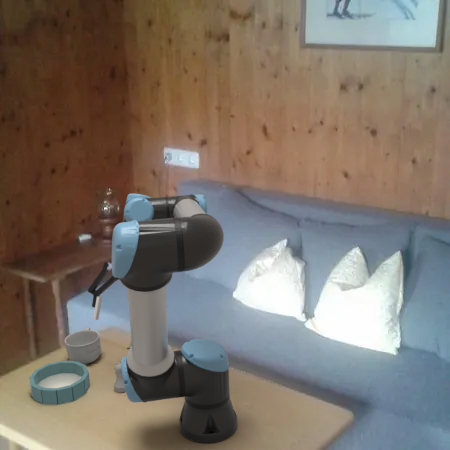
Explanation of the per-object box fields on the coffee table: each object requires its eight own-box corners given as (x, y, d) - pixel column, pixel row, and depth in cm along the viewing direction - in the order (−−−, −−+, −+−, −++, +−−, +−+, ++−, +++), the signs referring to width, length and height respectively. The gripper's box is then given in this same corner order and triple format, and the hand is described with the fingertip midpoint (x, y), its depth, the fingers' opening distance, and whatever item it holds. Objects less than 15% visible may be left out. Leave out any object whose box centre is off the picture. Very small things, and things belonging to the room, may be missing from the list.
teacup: (94, 369, 203) (91, 346, 201) (61, 366, 206) (58, 343, 203) (110, 347, 216) (108, 325, 214) (79, 345, 218) (76, 323, 216)
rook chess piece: (111, 391, 191) (108, 367, 189) (118, 383, 195) (116, 359, 193) (125, 394, 190) (122, 369, 187) (132, 386, 194) (130, 361, 191)
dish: (101, 384, 195) (99, 371, 194) (56, 411, 182) (55, 396, 181) (64, 368, 204) (62, 355, 203) (19, 392, 192) (18, 379, 191)
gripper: (177, 256, 189) (164, 330, 188) (93, 242, 192) (80, 315, 191) (172, 255, 182) (159, 332, 180) (85, 241, 185) (71, 316, 184)
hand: (118, 323), depth 186 cm, fingers open, 13 cm apart
